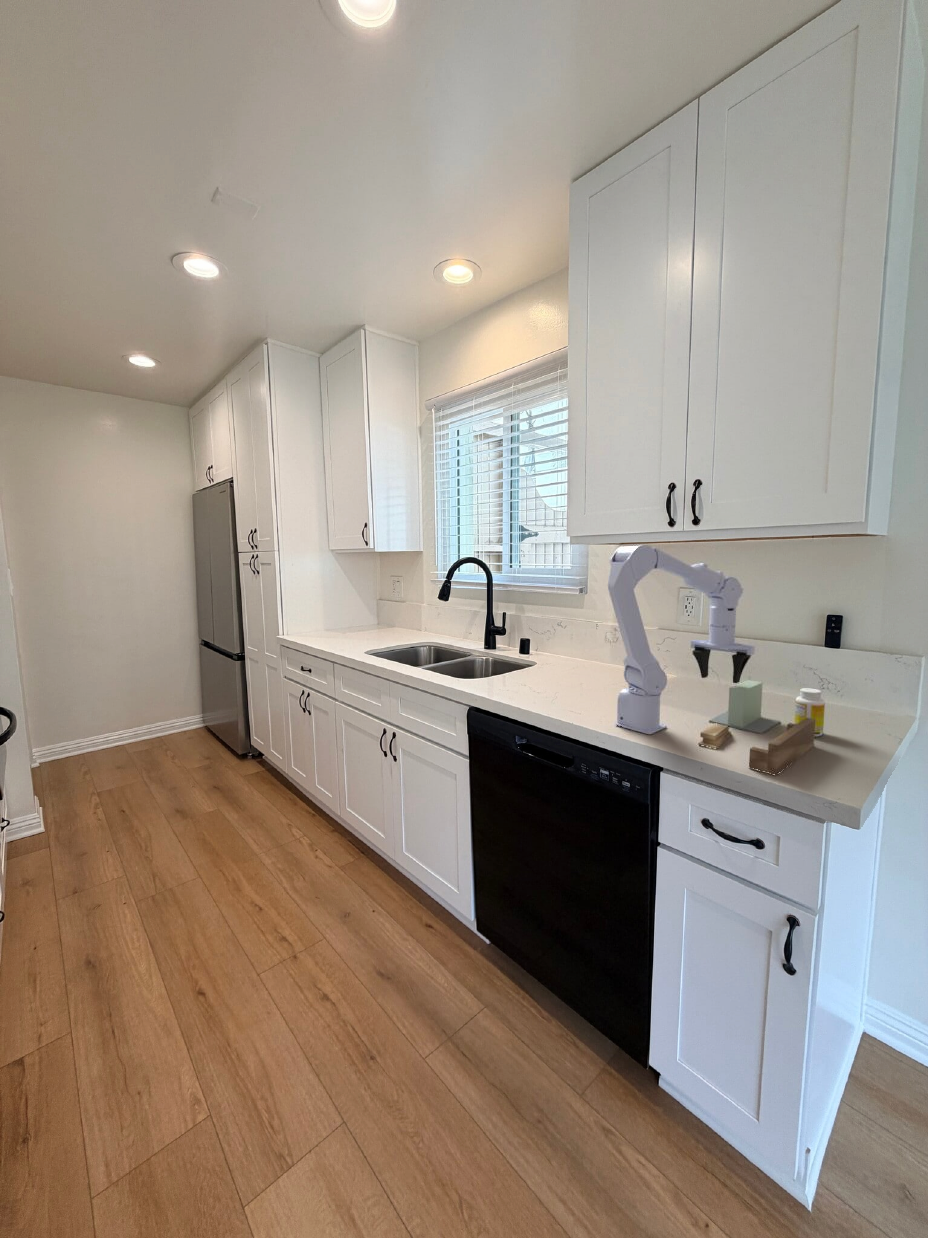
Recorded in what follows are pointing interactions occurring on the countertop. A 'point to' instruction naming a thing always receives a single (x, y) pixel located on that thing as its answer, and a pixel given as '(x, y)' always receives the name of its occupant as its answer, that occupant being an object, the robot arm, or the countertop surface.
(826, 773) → the countertop surface
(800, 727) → the walnut rack
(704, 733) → the offcut stack
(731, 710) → the tall sage green prism
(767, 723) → the slate mat
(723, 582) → the robot arm
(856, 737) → the countertop surface
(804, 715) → the supplement bottle
